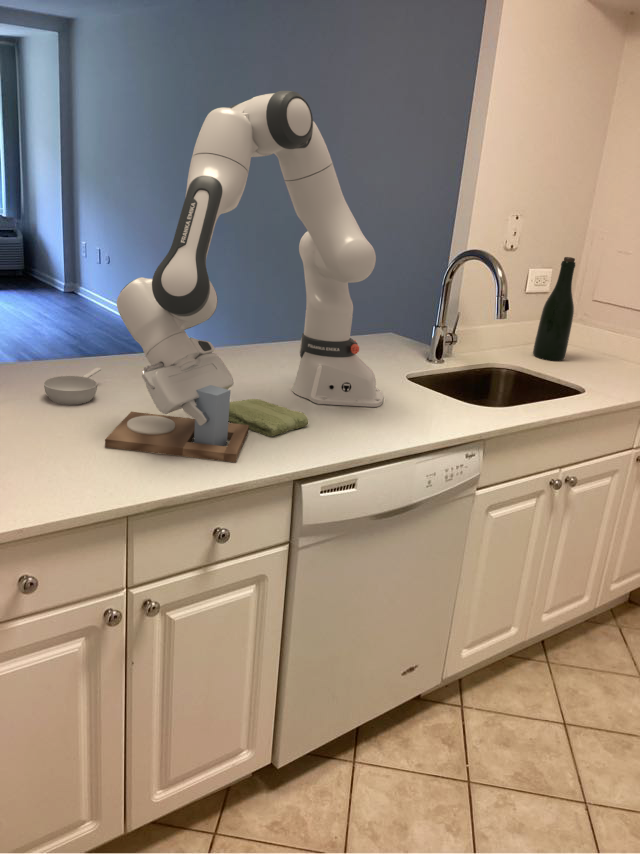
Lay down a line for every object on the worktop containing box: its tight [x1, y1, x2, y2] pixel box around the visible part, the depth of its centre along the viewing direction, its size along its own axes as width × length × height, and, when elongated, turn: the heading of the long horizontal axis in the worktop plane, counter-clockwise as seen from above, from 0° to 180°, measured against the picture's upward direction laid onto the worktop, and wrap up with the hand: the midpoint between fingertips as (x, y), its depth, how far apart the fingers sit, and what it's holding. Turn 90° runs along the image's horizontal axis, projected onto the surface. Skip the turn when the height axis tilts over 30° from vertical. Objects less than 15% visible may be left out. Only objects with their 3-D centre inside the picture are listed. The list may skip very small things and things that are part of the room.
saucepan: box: [43, 367, 102, 406], centre depth 158 cm, size 11×18×4 cm, turn 168°
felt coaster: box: [127, 416, 175, 435], centre depth 140 cm, size 9×9×1 cm
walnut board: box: [104, 411, 250, 463], centre depth 139 cm, size 24×16×2 cm, turn 87°
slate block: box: [193, 385, 231, 446], centre depth 137 cm, size 4×4×11 cm
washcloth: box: [228, 398, 310, 437], centre depth 154 cm, size 13×18×3 cm
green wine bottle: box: [532, 256, 576, 362], centre depth 237 cm, size 10×10×33 cm
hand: (214, 419), depth 136 cm, fingers closed on slate block, 4 cm apart
